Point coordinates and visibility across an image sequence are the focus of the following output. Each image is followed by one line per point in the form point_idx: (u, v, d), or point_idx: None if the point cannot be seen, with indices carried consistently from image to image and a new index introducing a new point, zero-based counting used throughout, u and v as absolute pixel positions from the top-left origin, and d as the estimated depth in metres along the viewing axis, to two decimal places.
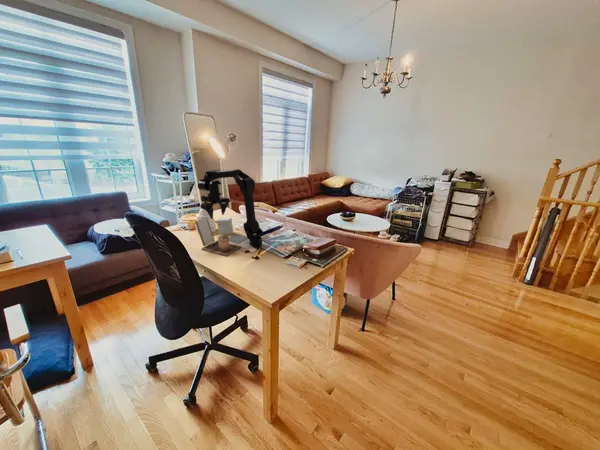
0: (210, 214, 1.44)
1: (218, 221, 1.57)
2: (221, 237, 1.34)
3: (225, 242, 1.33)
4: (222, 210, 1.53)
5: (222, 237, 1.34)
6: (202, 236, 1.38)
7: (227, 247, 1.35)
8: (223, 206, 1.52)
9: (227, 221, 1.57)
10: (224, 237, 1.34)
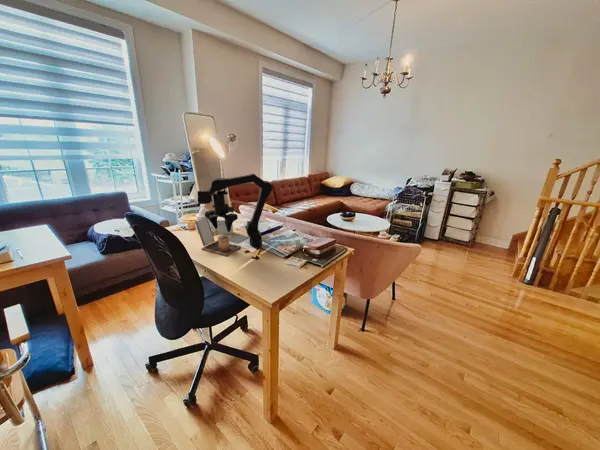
0: None
1: (218, 221, 1.57)
2: (221, 237, 1.34)
3: (225, 242, 1.33)
4: None
5: (222, 237, 1.34)
6: (202, 236, 1.38)
7: (227, 247, 1.35)
8: None
9: None
10: (224, 237, 1.34)
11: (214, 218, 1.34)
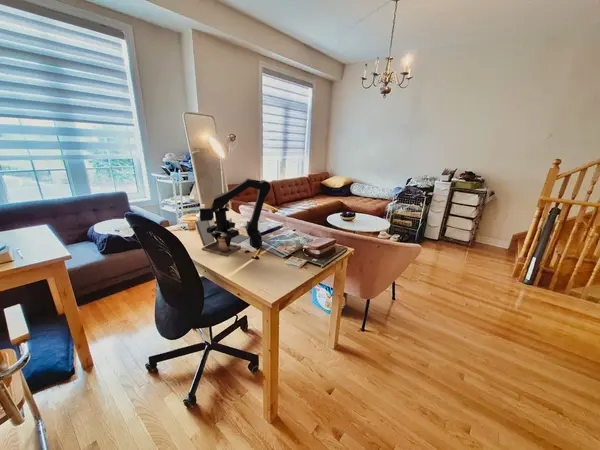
0: None
1: None
2: (221, 237, 1.34)
3: (225, 242, 1.33)
4: None
5: (222, 237, 1.34)
6: (202, 236, 1.38)
7: (227, 247, 1.35)
8: None
9: None
10: None
11: (218, 234, 1.36)
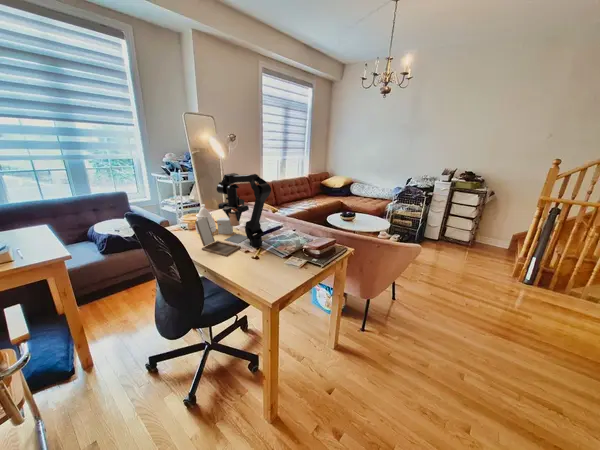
0: None
1: (218, 221, 1.57)
2: (232, 212, 1.45)
3: (236, 217, 1.44)
4: None
5: (233, 213, 1.45)
6: (202, 236, 1.38)
7: (237, 222, 1.46)
8: None
9: (227, 221, 1.57)
10: (234, 212, 1.45)
11: (229, 210, 1.47)
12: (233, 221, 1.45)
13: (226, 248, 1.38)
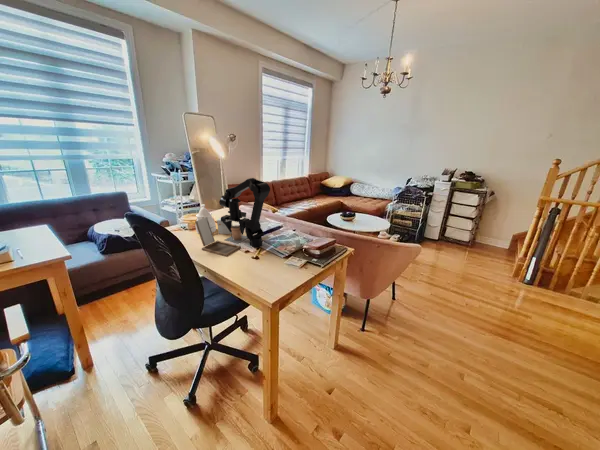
0: None
1: (218, 221, 1.57)
2: (234, 227, 1.49)
3: (237, 231, 1.48)
4: None
5: (235, 227, 1.48)
6: (202, 236, 1.38)
7: (239, 236, 1.50)
8: None
9: None
10: (236, 227, 1.49)
11: (229, 222, 1.51)
12: (235, 235, 1.48)
13: (226, 248, 1.38)
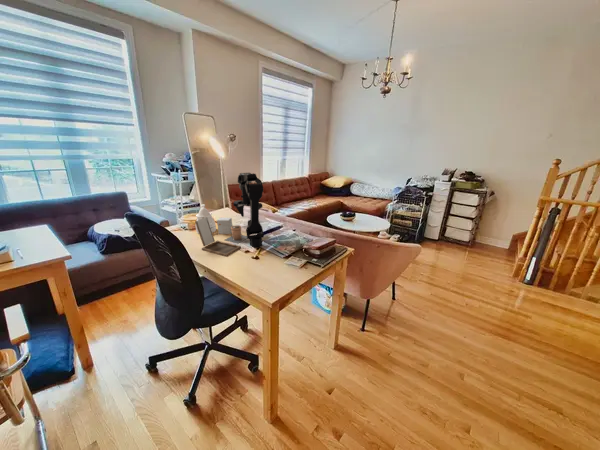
0: None
1: (218, 221, 1.57)
2: (234, 227, 1.49)
3: (237, 231, 1.48)
4: None
5: (235, 227, 1.48)
6: (202, 236, 1.38)
7: (239, 236, 1.50)
8: None
9: (227, 221, 1.57)
10: (236, 227, 1.49)
11: (241, 207, 1.54)
12: (235, 235, 1.48)
13: (226, 248, 1.38)
